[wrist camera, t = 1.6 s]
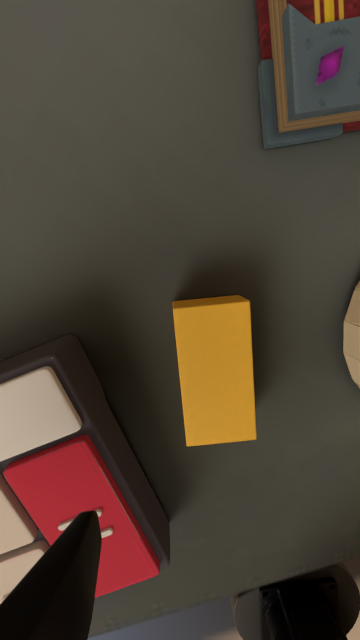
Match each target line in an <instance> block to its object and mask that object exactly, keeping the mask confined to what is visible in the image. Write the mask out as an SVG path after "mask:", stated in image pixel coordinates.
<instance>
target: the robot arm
mask: <svg viewBox="0 0 360 640" xmlns="http://www.w3.org/2000/svg"><path fill="white" fill-rule="evenodd" d="M101 545H102V536H101V530H100V525H99V519H98V514H97V512H96V511H94V510H92V511H83V512H80V513H79V514H78V515H77V516H76V517H75V518H74V520H73V521H72V522H71V523H70V524H69V525H68V526H67V528H66V529H65V530H64V531H63V532H62V533H61V535H60V536H59V537H58V538H57V539H56V540H55V541H54V543H53V544H52V545H51V546H50V547H49V548H48V550H47V551H46V552H45V553H44V554H43V555H42V557H41V558H40V559H39V560H38V561H37V562H36V563H35V565H34V566H33V567H32V568H31V569H30V570H29V572H28V573H27V574H26V575H25V576H24V577H23V578H22V580H21V581H20V582H19V583H18V584H17V585H16V587H15V588H14V589H13V590H12V591H11V592H10V593H9V595H8V596H7V597H6V598H5V599H4V600H3V602H2V603H1V604H0V640H87V639H88V634H89V630H90V625H91V620H92V613H93V606H94V598H95V591H96V583H97V576H98V568H99V561H100V553H101ZM259 605H260V625H261V640H348V639H347V637H346V635H345V633H344V631H343V628H342V626H341V624H340V622H339V620H338V584H337V582H336V580H335V579H334V578H333V577H326V578H317V579H308V580H298V581H289V582H280V583H271V584H266V585H263V586H260V587H259Z"/></svg>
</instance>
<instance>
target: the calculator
mask: <svg viewBox="0 0 360 640" xmlns="http://www.w3.org/2000/svg"><path fill="white" fill-rule="evenodd" d="M92 510H94V511H96V512H97V514H98V519H99V525H100V530H101V536H102V545H101V553H100V561H99V568H98V576H97V583H96V591H95V598H96V597H99V596H102V595H104V594H107V593H110V592H113V591H116V590H118V589H121V588H124V587H127V586H130V585H132V584H135V583H138V582H141V581H143V580H146V579H149V578H152V577H155V576H157V575H158V574H159V573H160V571H161V570H164V569H166V568H167V567H168V566H169V564H170V534H169V521H168V518H167V517H166V515H165V513H164V511H163V509H162V507H161V505H160V503H159V501H158V499H157V498H156V496H155V494H154V492H153V490H152V488H151V486H150V484H149V482H148V480H147V478H146V477H145V475H144V473H143V471H142V469H141V467H140V465H139V463H138V461H137V459H136V457H135V456H134V454H133V452H132V450H131V448H130V446H129V444H128V442H127V440H126V438H125V437H124V435H123V433H122V431H121V429H120V427H119V425H118V423H117V421H116V419H115V417H114V416H113V414H112V412H111V410H110V408H109V406H108V404H107V402H106V399H105V395H104V391H103V388H102V385H101V383H100V381H99V379H98V377H97V375H96V373H95V371H94V369H93V367H92V365H91V363H90V361H89V359H88V357H87V356H86V354H85V352H84V350H83V348H82V346H81V344H80V342H79V340H78V339H77V337H76V336H74V335H72V334H68V335H65V336H62V337H60V338H58V339H55V340H53V341H50V342H48V343H45V344H43V345H40V346H38V347H35V348H33V349H30V350H28V351H26V352H23V353H21V354H18V355H16V356H13V357H11V358H8V359H6V360H3V361H1V362H0V604H1V603H2V602H3V600H4V599H5V598H6V597H7V596H8V595H9V593H10V592H11V591H12V590H13V589H14V588H15V587H16V585H17V584H18V583H19V582H20V581H21V580H22V578H23V577H24V576H25V575H26V574H27V573H28V572H29V570H30V569H31V568H32V567H33V566H34V565H35V563H36V562H37V561H38V560H39V559H40V558H41V557H42V555H43V554H44V553H45V552H46V551H47V550H48V548H49V547H50V546H51V545H52V544H53V543H54V541H55V540H56V539H57V538H58V537H59V536H60V535H61V533H62V532H63V531H64V530H65V529H66V528H67V526H68V525H69V524H70V523H71V522H72V521H73V520H74V518H75V517H76V516H77V515H78V514H79V513H80V512H83V511H92Z"/></svg>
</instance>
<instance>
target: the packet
mask: <svg viewBox="0 0 360 640" xmlns="http://www.w3.org/2000/svg"><path fill="white" fill-rule="evenodd" d="M172 304H173V317H174V327H175V337H176V347H177V357H178V367H179V377H180V386H181V396H182V406H183V416H184V426H185V436H186V445H187V446H198V445H207V444H217V443H227V442H236V441H246V440H255V439H256V418H255V397H254V376H253V355H252V334H251V312H250V301H249V300H247V299H245V298H243V297H242V296H240V295H232V296H222V297H212V298H202V299H191V300H181V301H173V303H172Z"/></svg>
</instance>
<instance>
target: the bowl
mask: <svg viewBox="0 0 360 640" xmlns="http://www.w3.org/2000/svg"><path fill="white" fill-rule="evenodd" d="M344 320H345V321H344V335H343V351H344V352H343V353H344V356H345V359H346V362H347V365H348V368H349V371H350V374H351V377H352V379H353V381H354V382H355V383H356V384H357V386H358V387H359V388H360V281H359V283H358V284H357V285H356V287H355V290H354V292H353V295H352V298H351V301H350V304H349V307H348V310H347V313H346V316H345V319H344Z"/></svg>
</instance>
